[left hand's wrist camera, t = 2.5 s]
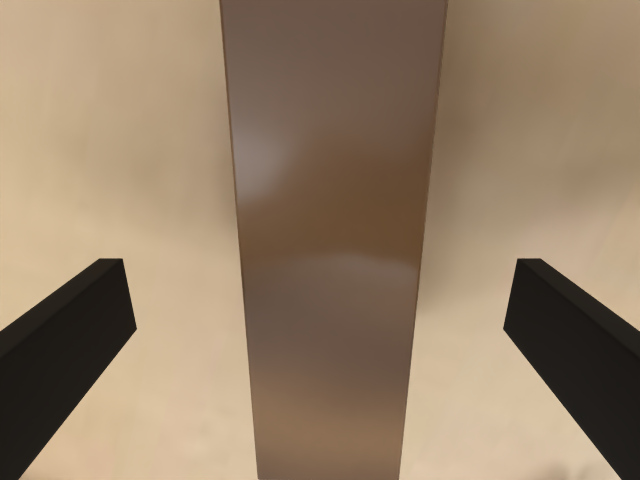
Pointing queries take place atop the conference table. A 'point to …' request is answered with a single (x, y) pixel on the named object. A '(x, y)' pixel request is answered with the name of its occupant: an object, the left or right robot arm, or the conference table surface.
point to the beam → (331, 220)
